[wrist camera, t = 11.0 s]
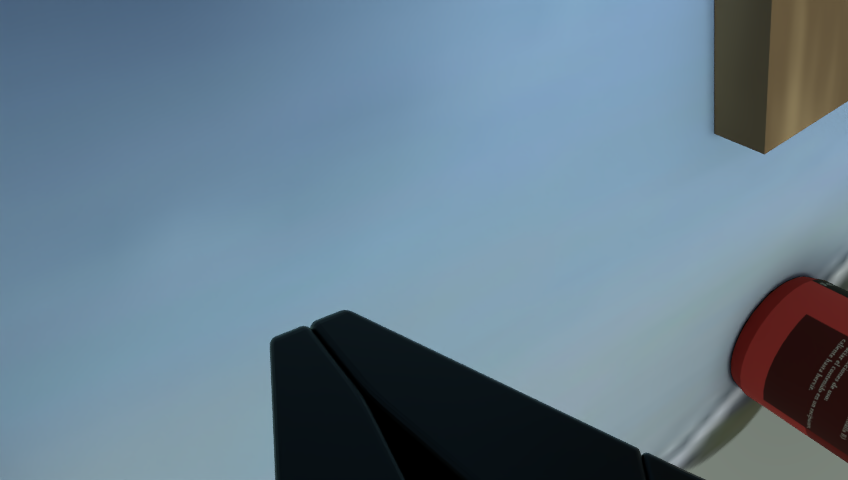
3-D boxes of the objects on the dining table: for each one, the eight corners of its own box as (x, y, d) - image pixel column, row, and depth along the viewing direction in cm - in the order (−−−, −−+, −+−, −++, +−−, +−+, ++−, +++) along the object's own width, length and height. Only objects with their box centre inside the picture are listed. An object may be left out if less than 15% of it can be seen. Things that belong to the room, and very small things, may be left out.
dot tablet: (764, 154, 30) (953, 33, 33) (772, -16, 26) (989, -135, 29) (709, 131, 32) (893, 19, 35) (709, -30, 28) (917, -139, 31)
